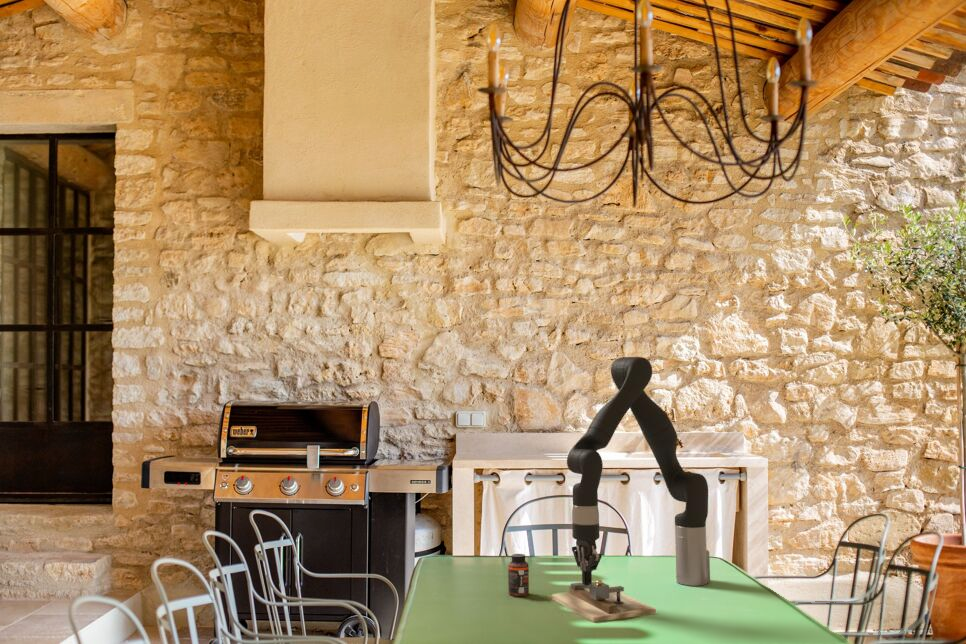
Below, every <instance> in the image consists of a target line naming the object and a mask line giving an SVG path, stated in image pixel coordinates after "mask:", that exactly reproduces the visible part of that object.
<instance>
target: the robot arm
mask: <svg viewBox="0 0 966 644" xmlns="http://www.w3.org/2000/svg"><path fill="white" fill-rule="evenodd" d="M610 375H611V379H612V381H613V384H614V385H615V386H616V388H617V389H618V392H617V393H616V394H615V395H614V396H613V397H612V398H610V400H609V401H608V402H606V404H604V405H603V406H602V407H601V408H600V409H599V411H598V412H597V413H596V414H595V416H594V417H593V419H592V421H591V422H590V425H589V426H588V428H587V430H586V432H585V433H584V434H583V435H582V436H581V437H580V438H579V440H577V442H576V443H575V444H574V445H573V446H572V448H571V449H570V451H569V452H568V455H567V458H566V465H567V468H568V470H569V471H571V472H572V473H573V474H577V475H581V478H580V482H578V483H575V484H574V485H573V486H572V511H571V521H572V522H571V528H572V530H571V531H572V538H573V539H574V540H576V541H575V546H572V547H571V551H572V554H573V557H574V560H575V562H576V566H577V567H578V568H580V571H581V580H582V581H581V583H583V584H584V585H589V584H591V583H592V582H593V581H592V580H593V578H592V576H593V575H592V574H593V573H592V572H593V571H596V570H597V568H598V566H599V564H600V561H601V559H602V553H598V552H597V543H596V541H597V540H598V539H600V511H599V498H598V497H599V495H598V490H599V486H600V483H601V477H602V473H603V468H604V467H603V459H602V456H601V455H600V453H599V452H598V451H599V450H601V449H605V448H606V447H607V446H608V445H609V443H610V442H611V441H612V437H613V436H614V434H615V432H616V430H617V428H619V427H618V426H619V425H620V423H621V421H622V420H623V418H624V417H625V415H626V413H628V411H629V410H630V411H631V413H632V415H633V416H634V418H635V421H636V422H637V424H638V426H639V428H640V430H641V433H642V434H643V436H644V438H645V441H646V442H647V445H648V446H649V448H650V450H651V452H652V454H653V457H654V458H655V461H656V463H657V465H658V467H659V469H660V472H661V474H662V477H663V480H664V483H665V486H666V488H667V491H668V493H669V495H670V496H671V498H673V499H674V500H676V501H677V502H680V503H681V502H682V503H685V509H684V511H683V512H681V513H677V514H676V515H675V516H674V535H675V536H674V538H675V540H674V541H675V573H676V575H675V577H676V583H678V584H681V585H684V586H691V587H692V586H694V587H697V586H698V587H699V586H705V585H707V584H710V583H711V562H710V559H711V558H710V557H711V556H710V550H708V548H707V519H708V514H709V484H708V481H707V479H706V477H705V476H704V475H703V474H702V473H698V472H689V471H685V470H684V469H683V467H682V465H681V463H680V461H679V460H678V458H677V447H678V434H677V431H676V429H675V427H674V424H673V423H672V421H671V418H670V417H669V416H668V414H667V412H665V411H664V409H663V408H662V407H661V406H660V405H658V403H656V402H655V401H654V400H653V399H652V398H650V396H649V395H648V394H647V393H646V392H645V389H646V387H647V386H648V384H649V383H650V382H651V379H652V377H653V366H652V364H651V362H650V361H649V360H648V359H647V358H645V357H643V356H627V357H625V356H623V357H619V358H618V357H617V358H616V359H615V360H613V362H612V364H611V367H610Z"/></svg>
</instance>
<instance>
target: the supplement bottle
mask: <svg viewBox="0 0 966 644" xmlns="http://www.w3.org/2000/svg"><path fill="white" fill-rule="evenodd" d="M510 558H511V560H510V562H509V563H508V566H507V567H508V568H507V569H508V573H507V574H508V576H507V577H508V581H507V582H508V583H507V584H508V594H509V595H510V596H511V597H518V598H519V597H520V598H521V597H526V596H528V595H529V594H530V591H529V590H530V588H529V587H530V586H529V585H530V582H529V581H530V575H529V572H530V570H529V563H528V562H527V561H526V555H525V554H524V553H514V554H511V557H510Z"/></svg>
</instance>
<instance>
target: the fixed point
mask: <svg viewBox="0 0 966 644" xmlns="http://www.w3.org/2000/svg"><path fill="white" fill-rule="evenodd" d="M592 583H596V581H592ZM570 586H571V588H572V589H574V590H579V589H585V590H586V589H589V585H584V584H583V583H582V581H581V582H574V583H572V582H571V583H570Z"/></svg>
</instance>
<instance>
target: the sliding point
mask: <svg viewBox="0 0 966 644" xmlns="http://www.w3.org/2000/svg"><path fill="white" fill-rule="evenodd" d="M595 582H596V583H591V584H589V588H588V590H589V597H591V598H593V599H595V600H603V599H609V593H613V592H617V602H621V600H620V593H622V592H624V591H625V588H624V587H623V586H621V585H618V586H610V585H609V584H608V583H605V582H603V580H601V579H596V580H595Z"/></svg>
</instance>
